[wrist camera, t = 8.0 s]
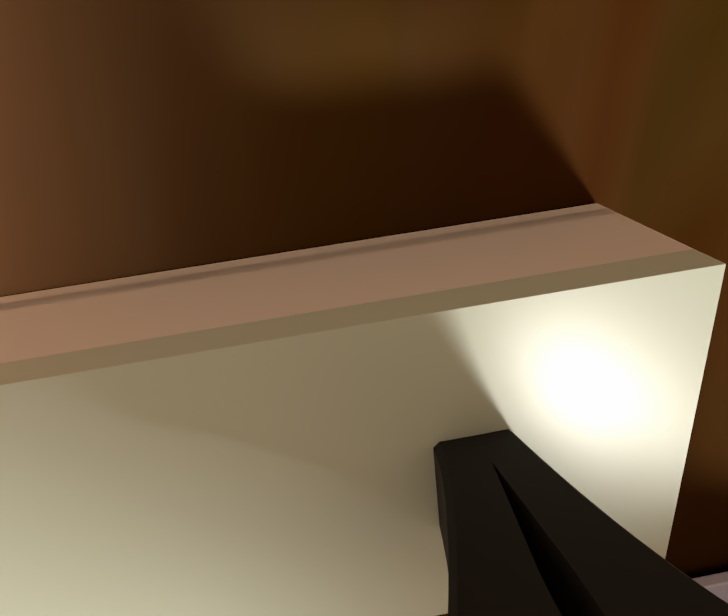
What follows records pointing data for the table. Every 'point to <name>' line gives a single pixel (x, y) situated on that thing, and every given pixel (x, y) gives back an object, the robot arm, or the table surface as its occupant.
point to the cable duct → (319, 279)
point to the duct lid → (339, 441)
